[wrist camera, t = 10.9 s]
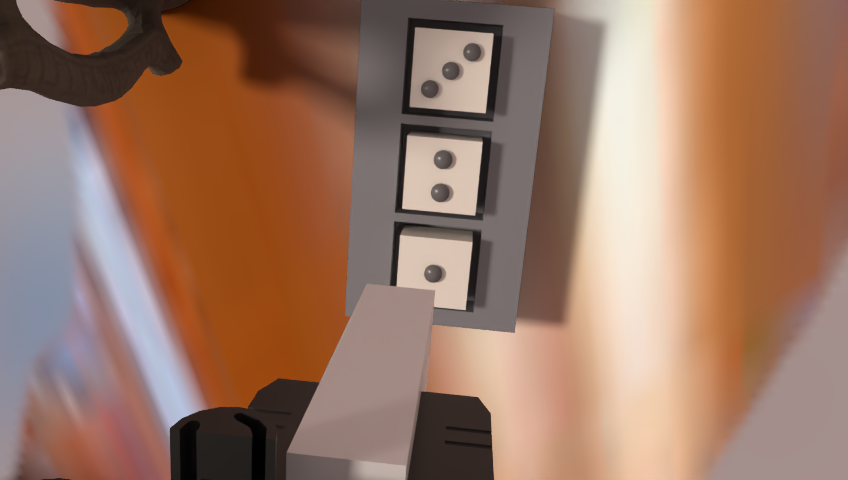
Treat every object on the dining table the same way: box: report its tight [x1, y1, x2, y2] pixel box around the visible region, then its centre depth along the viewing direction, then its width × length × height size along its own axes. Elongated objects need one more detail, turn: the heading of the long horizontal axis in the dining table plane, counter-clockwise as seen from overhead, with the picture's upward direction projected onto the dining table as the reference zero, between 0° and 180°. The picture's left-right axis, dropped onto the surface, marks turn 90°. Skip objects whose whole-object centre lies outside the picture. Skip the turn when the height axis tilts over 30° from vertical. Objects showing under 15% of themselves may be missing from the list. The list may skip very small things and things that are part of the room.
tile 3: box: [410, 27, 494, 113], centre depth 36 cm, size 4×4×3 cm
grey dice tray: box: [345, 0, 554, 333], centre depth 39 cm, size 10×18×3 cm, turn 176°
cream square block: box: [402, 131, 483, 216], centre depth 37 cm, size 4×4×3 cm
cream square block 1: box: [397, 225, 473, 310], centre depth 39 cm, size 4×4×3 cm
